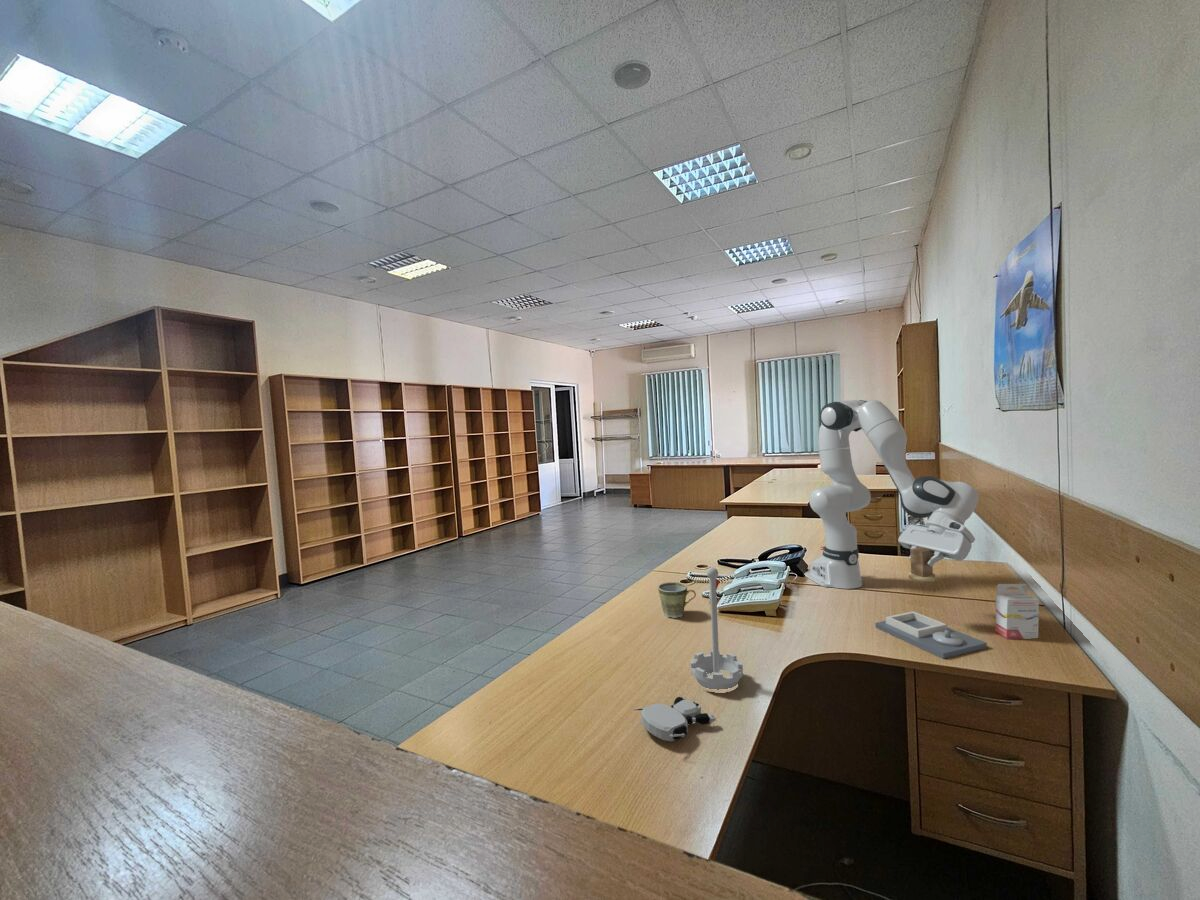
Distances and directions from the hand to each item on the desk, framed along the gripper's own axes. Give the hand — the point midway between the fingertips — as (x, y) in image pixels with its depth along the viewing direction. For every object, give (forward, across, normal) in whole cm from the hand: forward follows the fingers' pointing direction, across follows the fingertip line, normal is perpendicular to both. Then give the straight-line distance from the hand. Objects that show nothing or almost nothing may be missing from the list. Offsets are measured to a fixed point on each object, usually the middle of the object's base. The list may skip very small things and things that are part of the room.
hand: (919, 562), depth 152 cm
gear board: (+18, +6, +10) cm, 22 cm away
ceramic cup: (+59, -39, -31) cm, 77 cm away
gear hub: (+3, 0, +4) cm, 5 cm away
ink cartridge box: (+2, +16, +26) cm, 31 cm away
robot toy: (+80, +16, -51) cm, 96 cm away
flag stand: (+67, +3, -39) cm, 77 cm away
